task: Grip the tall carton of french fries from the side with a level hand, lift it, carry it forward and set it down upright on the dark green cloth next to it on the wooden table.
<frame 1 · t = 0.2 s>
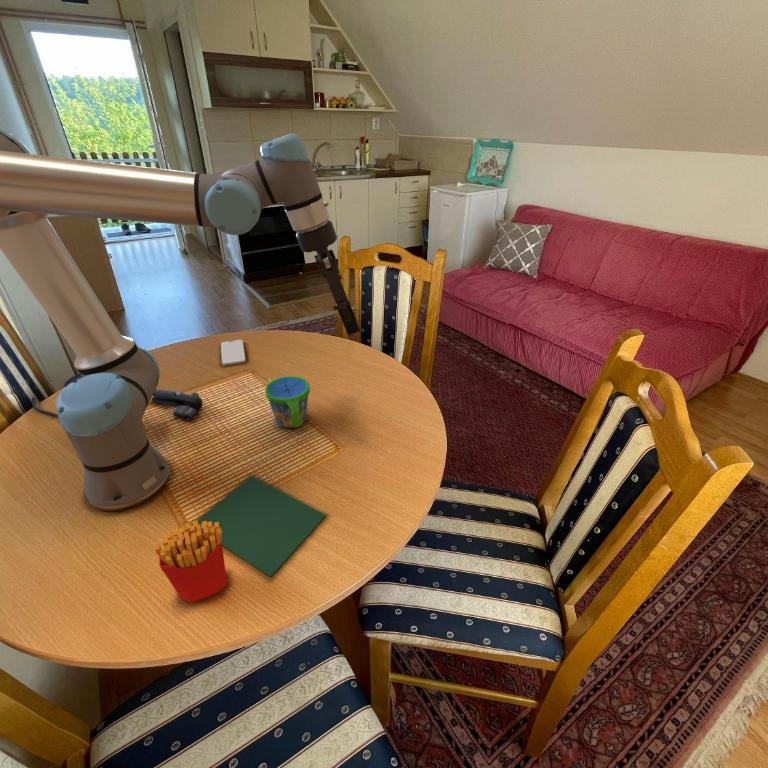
hand: (349, 319, 92), 27 cm above the table, tool tilted 20°, fingers open, 13 cm apart
french fries: (206, 586, 68), on the table
can opener: (177, 409, 109), on the table
snack cup: (291, 421, 105), on the table
smartphone: (233, 354, 135), on the table
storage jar: (113, 432, 101), on the table, touching arm
green cloth: (259, 520, 79), on the table
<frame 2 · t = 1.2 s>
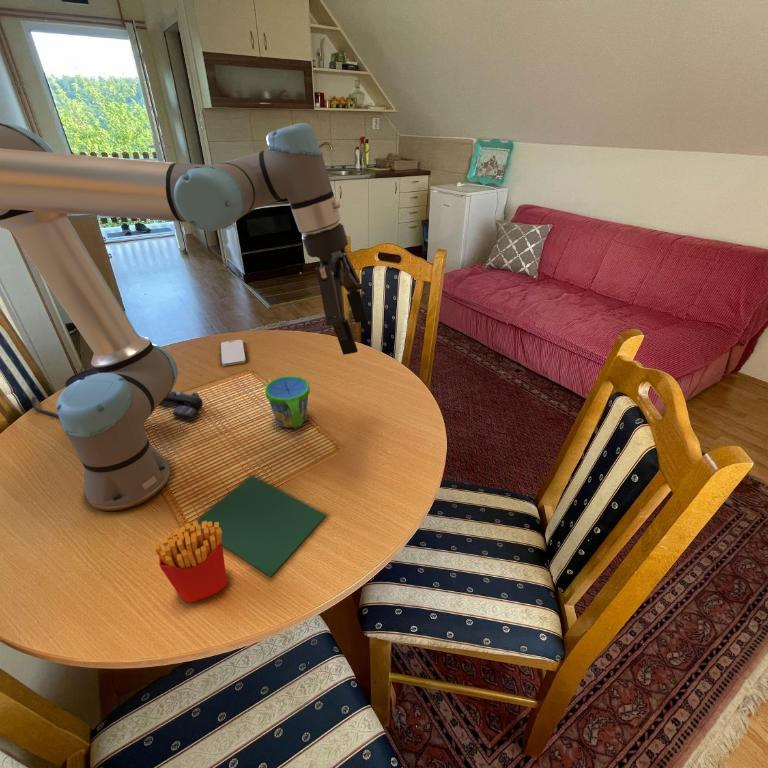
hand: (356, 336, 82), 28 cm above the table, tool tilted 15°, fingers open, 13 cm apart
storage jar: (113, 431, 101), on the table
everything else where it was.
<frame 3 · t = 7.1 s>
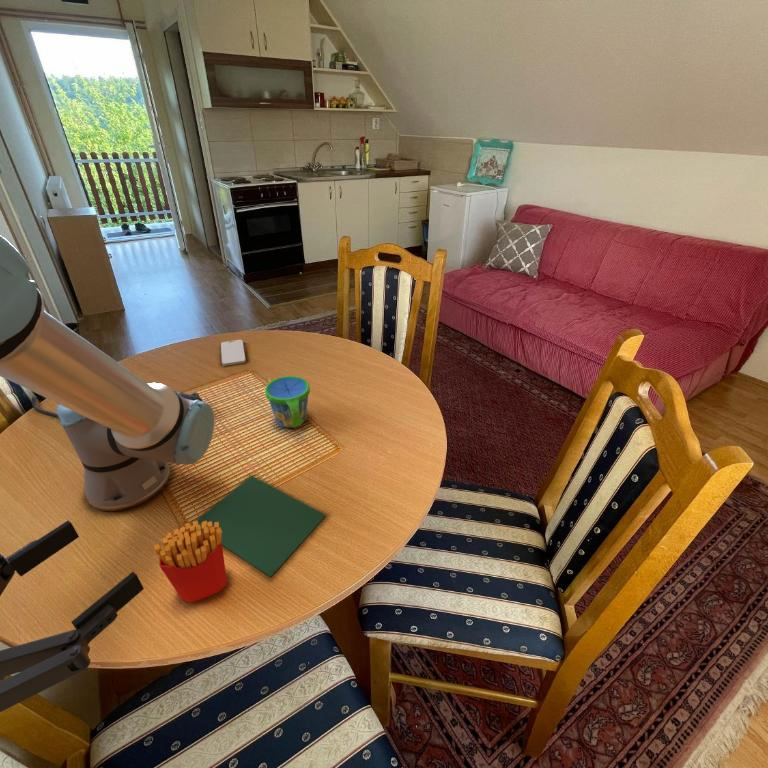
hand: (104, 552, 50), 20 cm above the table, tool horizontal, fingers open, 13 cm apart
nothing on the table moved.
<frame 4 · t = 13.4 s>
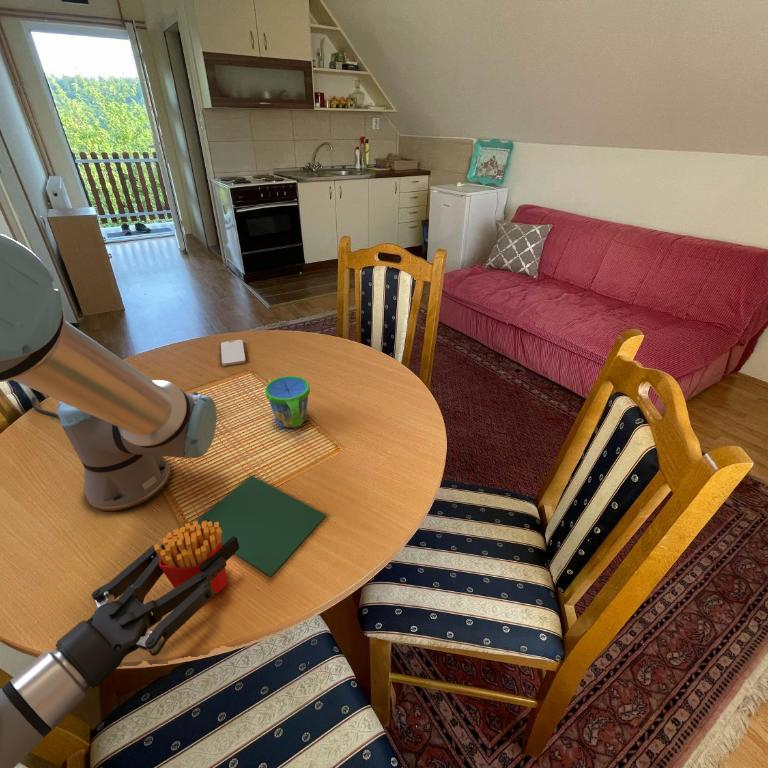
hand: (222, 533, 67), 8 cm above the table, tool horizontal, fingers closed on french fries, 6 cm apart
french fries: (206, 586, 68), on the table, touching gripper
everything else where it was.
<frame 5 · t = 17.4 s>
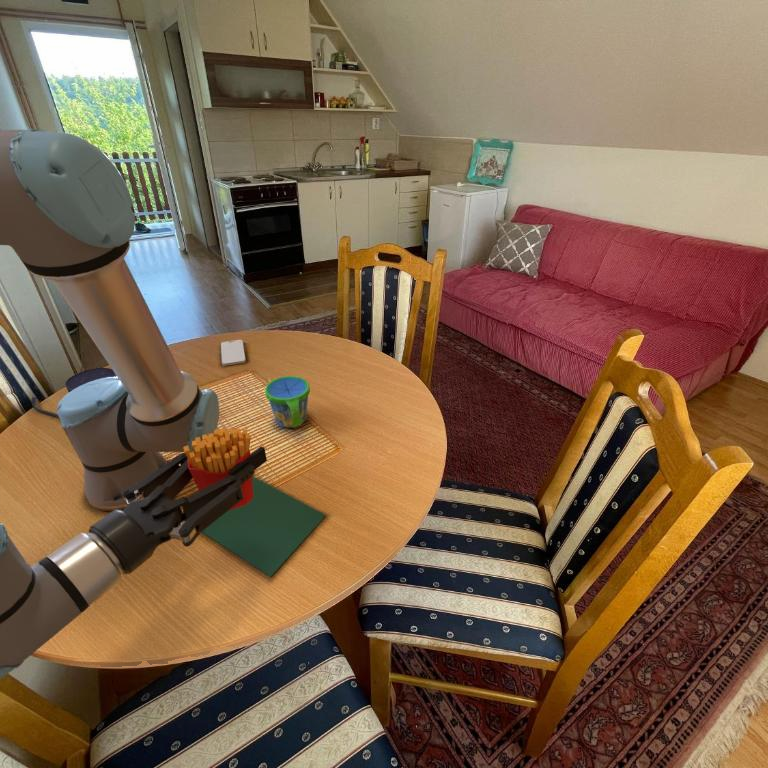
hand: (249, 446, 67), 20 cm above the table, tool horizontal, fingers closed on french fries, 6 cm apart
french fries: (232, 500, 67), point 12 cm above the table, touching gripper
everything else where it was.
when the fingers open (8 cm above the table, at t = 21.7 s): french fries stays where it is, resting on green cloth.
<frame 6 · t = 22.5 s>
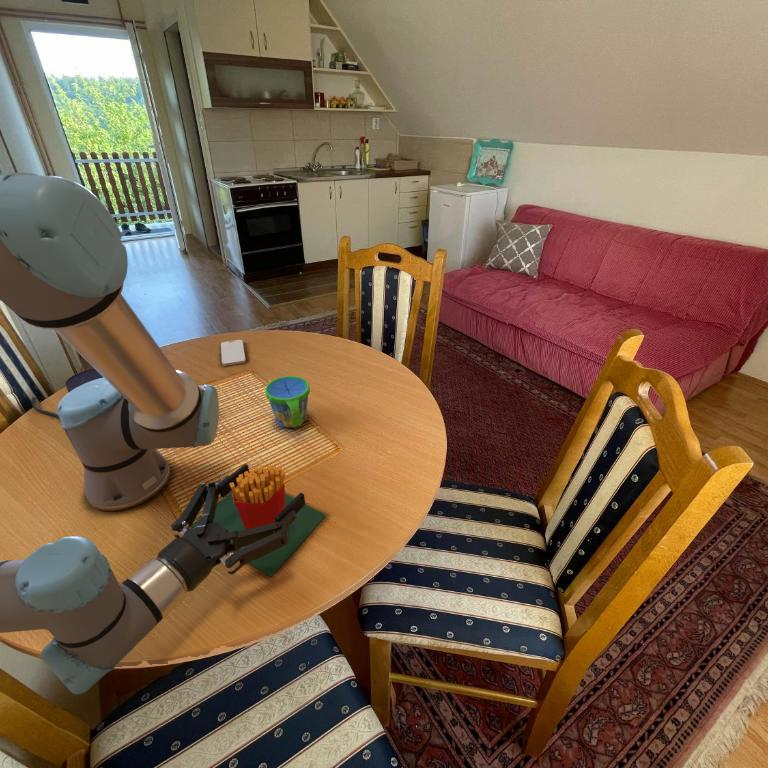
hand: (274, 483, 76), 8 cm above the table, tool horizontal, fingers open, 13 cm apart
french fries: (267, 525, 78), resting on green cloth
everything else where it was.
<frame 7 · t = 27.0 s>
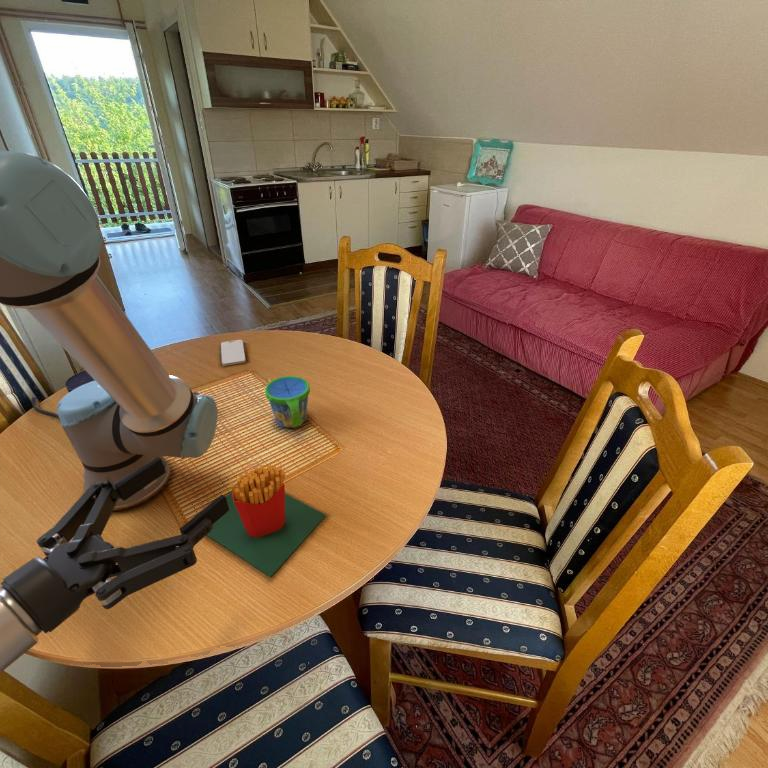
hand: (192, 482, 59), 21 cm above the table, tool horizontal, fingers open, 13 cm apart
nothing on the table moved.
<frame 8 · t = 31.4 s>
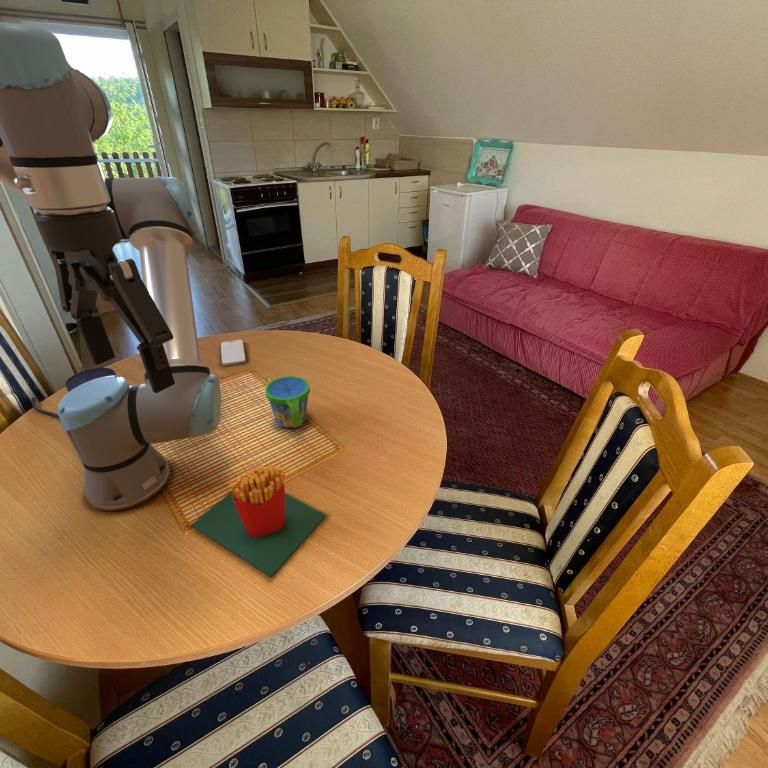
hand: (133, 373, 57), 35 cm above the table, tool pointing down, fingers open, 13 cm apart
nothing on the table moved.
at the end: french fries inside the target area (2.1 cm from its centre), resting on green cloth; french fries tilted 0°; the gripper is holding nothing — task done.
